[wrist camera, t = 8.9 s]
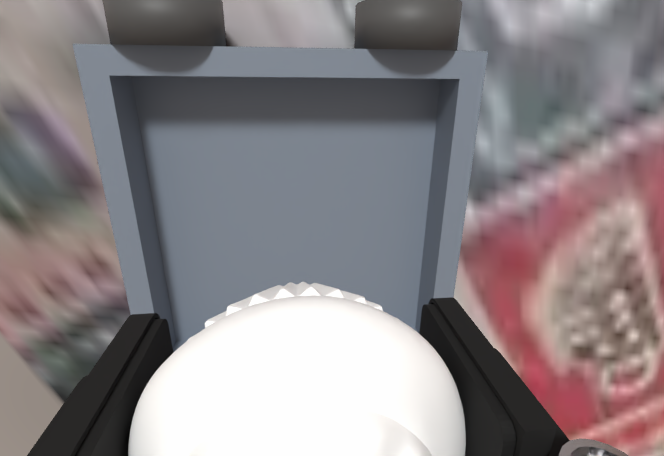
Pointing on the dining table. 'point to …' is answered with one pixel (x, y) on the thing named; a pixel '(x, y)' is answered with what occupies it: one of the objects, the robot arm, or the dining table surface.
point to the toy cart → (282, 157)
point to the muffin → (301, 384)
